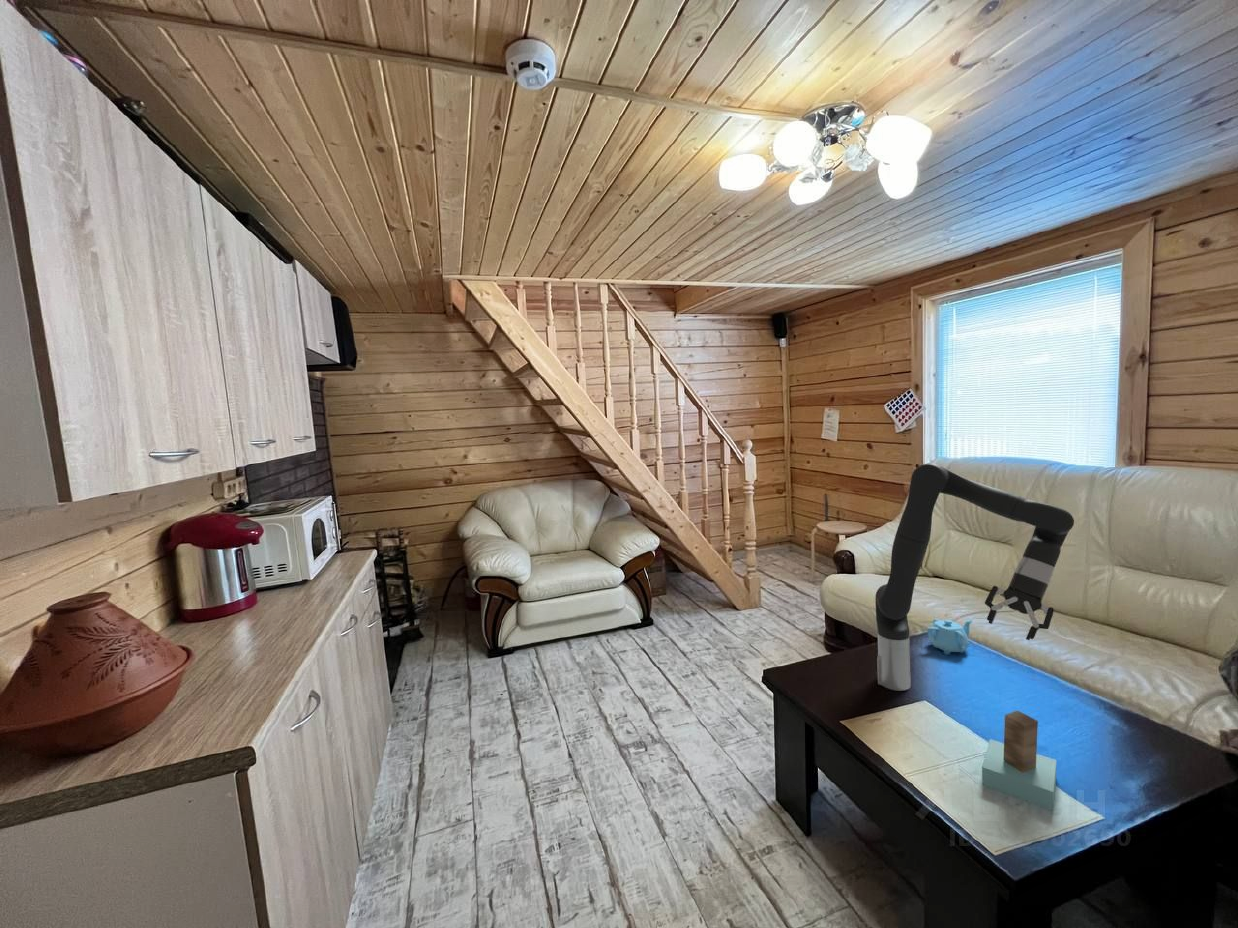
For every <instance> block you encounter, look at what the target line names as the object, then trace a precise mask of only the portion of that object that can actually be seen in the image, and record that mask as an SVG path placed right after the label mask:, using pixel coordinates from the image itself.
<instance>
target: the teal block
mask: <svg viewBox="0 0 1238 928" xmlns="http://www.w3.org/2000/svg"><path fill="white" fill-rule="evenodd" d="M1003 759H1004V742H1001V741H998V740H994V739H991V738H990V739H989V741H988V744H987V748H986V752H985V755H984V759H983V763H982V766H981V785H982V786H985V787H988V788H990V789H993V790H996V791H999V792H1001V793H1004V794H1007V795H1009V796H1012V797H1015V798H1017V799H1020V800H1022V801H1025V802H1028V803H1031V804H1034V805H1036V806H1039V807H1042V808H1044V809H1047V810H1050V811H1052V812H1054V807H1055V797H1056V796H1055V795H1056V787H1057V785H1056V784H1057V783H1056V782H1057V759H1054V758H1050V757H1047V756H1044V755H1041V754H1038V753H1036V768H1033V769H1031V770H1028V771H1026V772H1021V771H1019V770H1018V769H1016V768H1015V767H1013V766H1012V765H1010V764H1009V763H1007V762H1005V761H1004V760H1003Z"/></svg>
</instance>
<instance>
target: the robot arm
mask: <svg viewBox="0 0 1238 928" xmlns="http://www.w3.org/2000/svg"><path fill="white" fill-rule="evenodd" d="M940 494H944V495H949V496H952V497H956V498H958V499H961V500H963V501H967V502H968V503H971V504H973V505H975V506H977V507H979V508H981V509H982V510H986V511H987V512H990V513H993V514H995V515H998V516H1001V517H1003V518H1006V519H1009V520H1011V521H1016V522H1022V523H1025V524H1027V525H1030V526H1034V530H1033V533H1032V536H1031V538H1030V541H1029V542H1028V543H1027V546H1026V548H1025V549H1024V553H1023V555H1022V557H1021V559H1020V561H1018V563H1017V566H1016V568H1015V570H1014V573H1013V575H1012V578H1011V579H1010V582H1009V585H1008V587H1007V588H1006V589H1005V590H1004V589H1003V588H1000V587H998V586H997V585H992V587H991V589H990V591H989V593H988V595H987V596H986V599H985V601H984V604H985V605H986V606H987V607H989V609H990V610H989V613H988V615H987V616H986V620H987V621H988V623H989V624H991V625H992V624H993V623H994V621H995V618H996V617H997V614H998V610H1002V609H1003V608H1006V607H1008V608H1009V609H1011V610H1014V611H1018V612H1019V613H1021V614H1024V615H1028V617H1029V619H1030V621H1031V624H1032V626H1030V629H1029V630H1028V633H1027V635H1026V637H1025V640H1027V641H1030V640H1034V639H1035V637H1036V634H1037V632H1038V630H1039V629H1040V630H1041V629H1042V630H1048V629H1049V628H1050V625H1051V623H1052V619H1053V616H1054V613H1055V609H1054V607H1049V606H1046V605H1045V604H1044V605H1043V604H1042V601H1043V598H1044V596H1045V593H1046V592H1047V589H1048V587H1049V585H1050V583H1051V580H1052V578H1053V574H1054V570H1055V567H1056V565H1057V564H1058V563H1057V562H1058V561H1059V560H1058V559H1059V557H1060V554H1061V548H1062V546H1063V543H1064V542H1065V539H1066V538H1067V536H1068V534H1069V532H1070V531H1071V530H1072V528H1073V527H1074V524H1075V519H1074V517H1073V515H1072V514H1071V513H1070V512H1069V511H1067V510H1066V509H1063V508H1061V507H1058V506H1055V505H1051V504H1049V503H1048V504H1047V503H1044V502H1040V501H1035V500H1031V499H1028V498H1025V497H1023V496H1021V495H1018V494H1015V493H1011V492H1009V491H1005V490H1004V489H1003V490H1002V489H999V488H995V487H992V486H989V485H987V484H983V483H980V482H977V481H975V480H971V479H969V478H966V477H963V476H961V475H959V474H957V473H956V472H953V471H952V470H949V469H947V468H946V467H944V466H943V465H941V464H938V463H931V462H929V463H924V464H923V463H922V464H921V465H919V466H917V467H916V468H915V469H914V470H913V472H912V474H911V477H910V485H909V490H908V496H907V501H906V504H905V507H904V510H903V513H902V515H901V517H900V521H899V524H898V527H897V530H896V532H895V537H894V540H893V543H892V548H891V558H890V573H889V576H888V579H887V580H888V581H887V583H886V584H883V585H880V586H879V588H878V589H877V591H876V592H875V620H876V626H877V628H876V629H877V651H878V652H877V658H876V659H877V660H876V663H877V684H878V685H880V686H882V687H883V688H886V689H888V690H892V691H898V692H901V691H907V690H909V689H910V688H911V686H912V685H911V650H910V627H909V622H908V614H909V613H910V610H911V607H912V599H913V594H914V589H915V585H916V580H917V578H918V575H919V573H920V570H921V567H922V563H923V561H924V558H925V555H926V553H927V549H928V545H929V542H930V540H931V539H930V538H931V535H932V534H931V533H932V524H933V523H932V522H933V521H932V520H933V512H934V508H935V505H936V502H937V500H938V498H939V496H940ZM1001 594H1002V595H1003V596H1004V601H1001V602H999V603H997V604H993V601H994V599H995V597H996V596H1000V595H1001ZM1038 610H1042V612H1043V614H1044V615H1045V617H1044V620H1043V623H1039V621H1038V619H1037V617H1036V615H1035V611H1038Z"/></svg>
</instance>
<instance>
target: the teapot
mask: <svg viewBox="0 0 1238 928" xmlns="http://www.w3.org/2000/svg"><path fill="white" fill-rule="evenodd" d="M973 621H974V619H968V620H966V621H965V623H964V625H963V626H961V625H960V624H959V623H957V622H955V621H953V620H950V619H943V620H941V619H937V618H936V619H934V620H933V621H932V625H931V626H929V627H927V628H926V633H927V634H928V639H929V641H930V642H931V644H932V645H933V647H934V648H937V649H940V650H942V651H943V654H944V655H951V653H961V654H964V653H965V651H967V650H968V648H969V647H970V642H969V638H968V637H969V636H970V626H971V623H972V622H973Z"/></svg>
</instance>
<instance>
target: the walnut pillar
mask: <svg viewBox="0 0 1238 928" xmlns="http://www.w3.org/2000/svg"><path fill="white" fill-rule="evenodd" d="M1038 723H1039V721H1038V720H1037V719H1035V718H1034V717H1031V716H1029V715H1027V714H1026V713H1023V712H1022V711H1020V710H1016V711H1012V712H1010V713H1006V714H1004V729H1003V731H1004V733H1003V734H1004V735H1003V741H1004V742H1003V743H1004V759H1003V760H1004V761H1005V762H1007V763H1009V764H1010V765H1012V766H1013V767H1015V768H1016V769H1018V770H1019V771H1021V772H1026V771H1028V770H1031V769H1033V768H1036V754H1038V753H1037V752H1038V751H1037V749H1038V729H1039V728H1038V725H1039V724H1038Z"/></svg>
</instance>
